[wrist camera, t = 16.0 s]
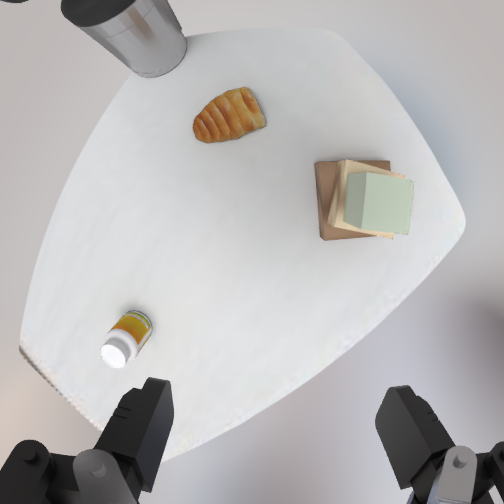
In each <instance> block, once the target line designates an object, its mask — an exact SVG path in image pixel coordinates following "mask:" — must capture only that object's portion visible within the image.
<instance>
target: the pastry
mask: <svg viewBox="0 0 504 504" xmlns="http://www.w3.org/2000/svg"><path fill="white" fill-rule="evenodd" d="M265 124H266V120H265V117H264V115H263V113H262V112H261V110H260V108H259V106H258V103H257V101H256V99H255V97H254V95H253V93H252V92H251V91H250V90H249V89H248V88H246V87H242V88H239V89H234V90H230V91H227V92H225V93H223V94H222V95H220V96H218V97H216V98H215V99H214V100H212V101H211V102H210V103H209V104H208V105H207V106H205V107H204V109H203V110H202V112H201V113H200V114H199V115H197V116H196V118H195V120H194V123H193V131H194V133H195V137H196V138H197V139H198V140H200V141H203V142H205V143H212V142H223V141H227V140H232V139H238V138H240V137H241V136H242V135H244V134H247V133H249V132H252V131H254V130H256V129H258V128H263V127H264V126H265Z"/></svg>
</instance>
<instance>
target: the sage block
mask: <svg viewBox="0 0 504 504" xmlns="http://www.w3.org/2000/svg"><path fill="white" fill-rule="evenodd" d="M413 191H414V181H411V180H406V179H401V178H396V177H391V176H386V175H380V174H375V173H369V172H363V173H352V174H347V185H346V197H345V208H344V217H343V222H346V223H348V224H350V225H352V226H354V227H357V228H359V229H361V230H370V231H379V232H389V233H397V234H406V235H408V234H409V227H410V219H411V211H412V201H413Z"/></svg>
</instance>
